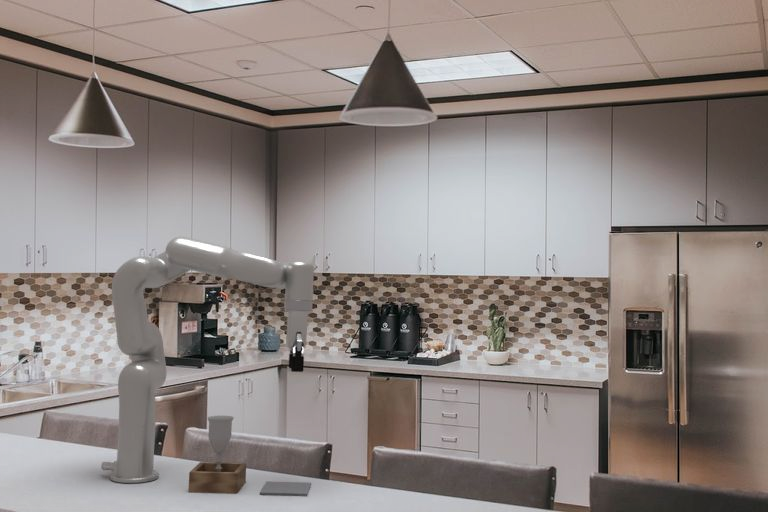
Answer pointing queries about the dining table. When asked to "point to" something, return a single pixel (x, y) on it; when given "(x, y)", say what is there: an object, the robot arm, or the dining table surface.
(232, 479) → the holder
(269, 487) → the coaster
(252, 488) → the dining table surface
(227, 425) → the chalice
